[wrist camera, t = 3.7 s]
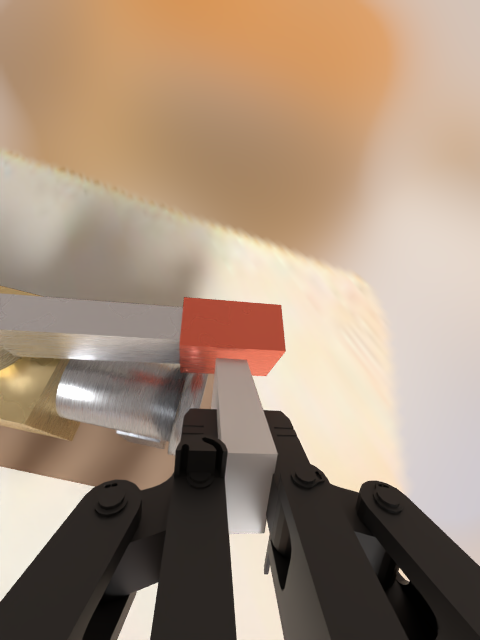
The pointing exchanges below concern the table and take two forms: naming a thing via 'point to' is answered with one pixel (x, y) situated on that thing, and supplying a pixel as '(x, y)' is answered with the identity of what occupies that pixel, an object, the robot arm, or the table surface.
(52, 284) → the table surface
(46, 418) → the pipe and valve body
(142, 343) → the valve lever
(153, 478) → the walnut base board
